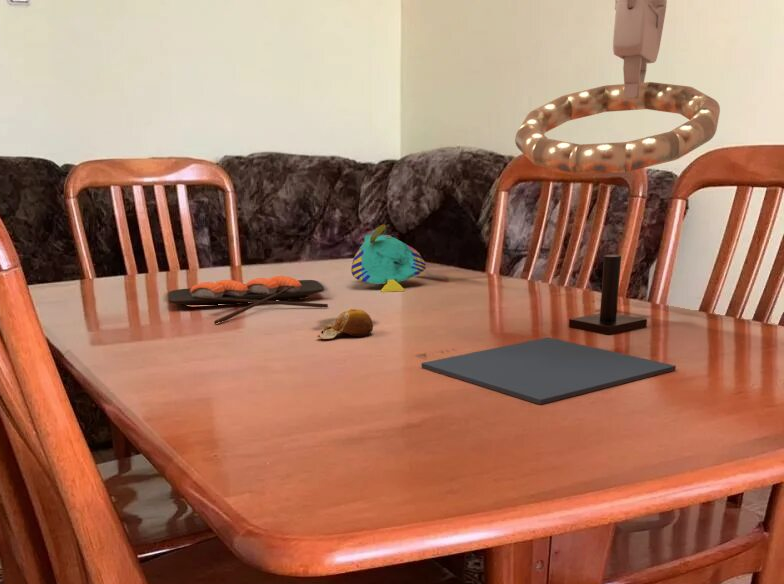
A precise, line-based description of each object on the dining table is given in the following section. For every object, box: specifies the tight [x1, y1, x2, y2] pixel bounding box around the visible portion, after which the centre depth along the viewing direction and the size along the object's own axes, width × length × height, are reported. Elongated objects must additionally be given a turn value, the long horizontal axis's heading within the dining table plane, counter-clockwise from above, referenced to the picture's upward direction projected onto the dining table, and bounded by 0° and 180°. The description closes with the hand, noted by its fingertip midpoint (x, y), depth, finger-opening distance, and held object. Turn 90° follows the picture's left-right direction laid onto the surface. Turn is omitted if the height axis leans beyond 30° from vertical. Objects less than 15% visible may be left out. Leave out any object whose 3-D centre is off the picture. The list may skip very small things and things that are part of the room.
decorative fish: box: [351, 224, 427, 293], centre depth 167 cm, size 20×12×15 cm
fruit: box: [316, 308, 374, 340], centre depth 125 cm, size 8×8×4 cm
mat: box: [421, 336, 677, 406], centre depth 103 cm, size 22×22×1 cm
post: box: [568, 254, 648, 336], centre depth 121 cm, size 8×8×10 cm
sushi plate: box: [167, 275, 329, 324], centre depth 151 cm, size 29×30×4 cm
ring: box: [514, 81, 721, 175], centre depth 105 cm, size 24×24×3 cm
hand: (632, 99), depth 111 cm, fingers closed on ring, 3 cm apart
